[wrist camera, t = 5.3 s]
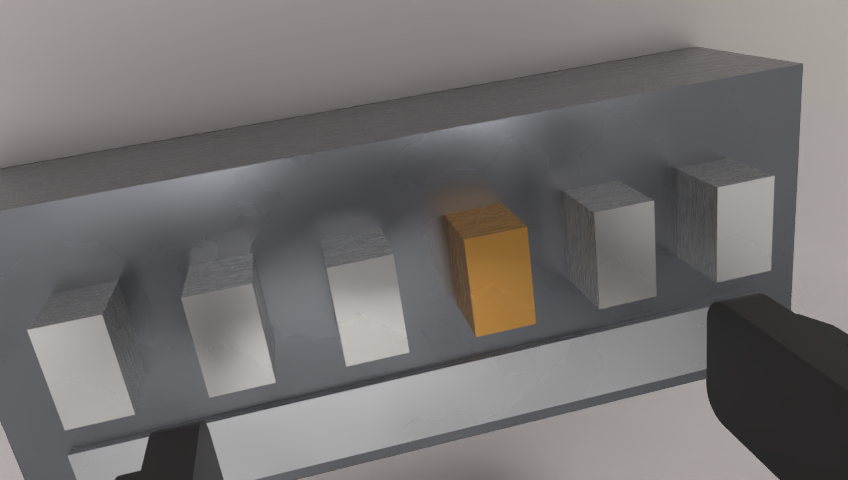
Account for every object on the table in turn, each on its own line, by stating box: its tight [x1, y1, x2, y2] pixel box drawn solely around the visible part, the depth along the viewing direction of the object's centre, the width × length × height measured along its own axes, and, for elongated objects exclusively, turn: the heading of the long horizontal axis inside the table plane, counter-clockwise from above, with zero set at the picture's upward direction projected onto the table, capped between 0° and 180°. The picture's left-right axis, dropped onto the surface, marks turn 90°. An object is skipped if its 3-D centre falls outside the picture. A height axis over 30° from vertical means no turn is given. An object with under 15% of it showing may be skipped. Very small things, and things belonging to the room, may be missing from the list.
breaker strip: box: [0, 47, 803, 480], centre depth 16 cm, size 17×7×6 cm, turn 98°
